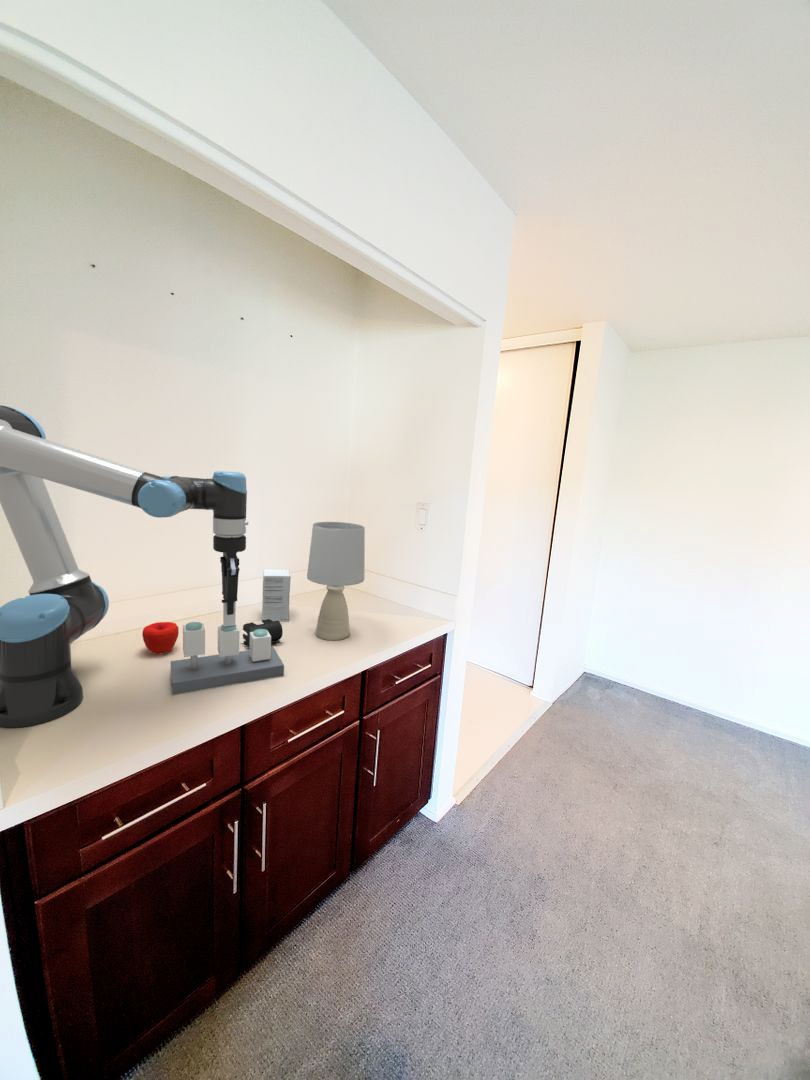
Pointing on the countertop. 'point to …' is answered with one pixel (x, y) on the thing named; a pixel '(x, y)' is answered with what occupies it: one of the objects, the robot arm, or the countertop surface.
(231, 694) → the countertop surface
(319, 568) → the lamp
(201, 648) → the button near
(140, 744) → the countertop surface
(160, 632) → the apple
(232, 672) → the mount
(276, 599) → the supplement box
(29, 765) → the countertop surface
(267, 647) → the button far
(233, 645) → the button mid
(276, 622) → the end cap
